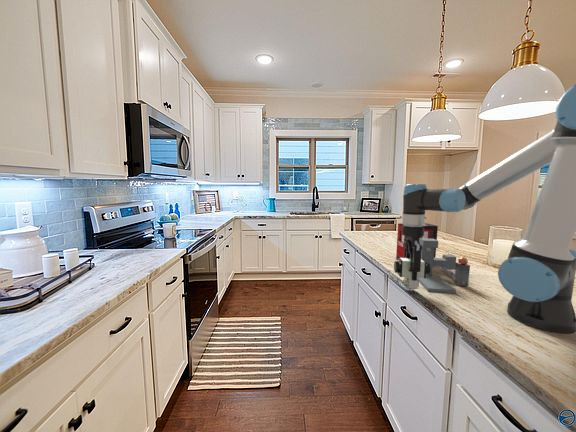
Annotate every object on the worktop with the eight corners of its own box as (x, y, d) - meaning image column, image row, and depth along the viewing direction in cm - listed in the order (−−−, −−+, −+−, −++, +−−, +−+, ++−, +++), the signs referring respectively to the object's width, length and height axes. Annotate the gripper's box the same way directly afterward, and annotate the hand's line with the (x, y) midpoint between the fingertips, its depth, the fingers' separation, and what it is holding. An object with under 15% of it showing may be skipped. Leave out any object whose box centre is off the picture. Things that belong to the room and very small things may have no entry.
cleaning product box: (404, 264, 133) (406, 226, 130) (396, 259, 141) (398, 223, 139) (434, 263, 134) (437, 225, 131) (424, 258, 142) (427, 223, 140)
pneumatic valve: (429, 291, 94) (431, 259, 93) (395, 288, 97) (396, 257, 95) (424, 285, 100) (426, 255, 99) (392, 283, 102) (393, 254, 101)
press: (479, 294, 95) (483, 250, 93) (427, 291, 98) (430, 248, 96) (450, 273, 118) (453, 237, 116) (409, 271, 121) (411, 236, 119)
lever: (468, 286, 103) (470, 258, 101) (458, 285, 103) (461, 258, 102) (446, 270, 122) (448, 247, 121) (438, 269, 123) (440, 246, 121)
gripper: (433, 229, 86) (429, 295, 89) (415, 222, 104) (413, 277, 106) (409, 228, 87) (406, 294, 90) (396, 222, 105) (394, 276, 108)
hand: (410, 285), depth 98 cm, fingers closed on pneumatic valve, 5 cm apart
